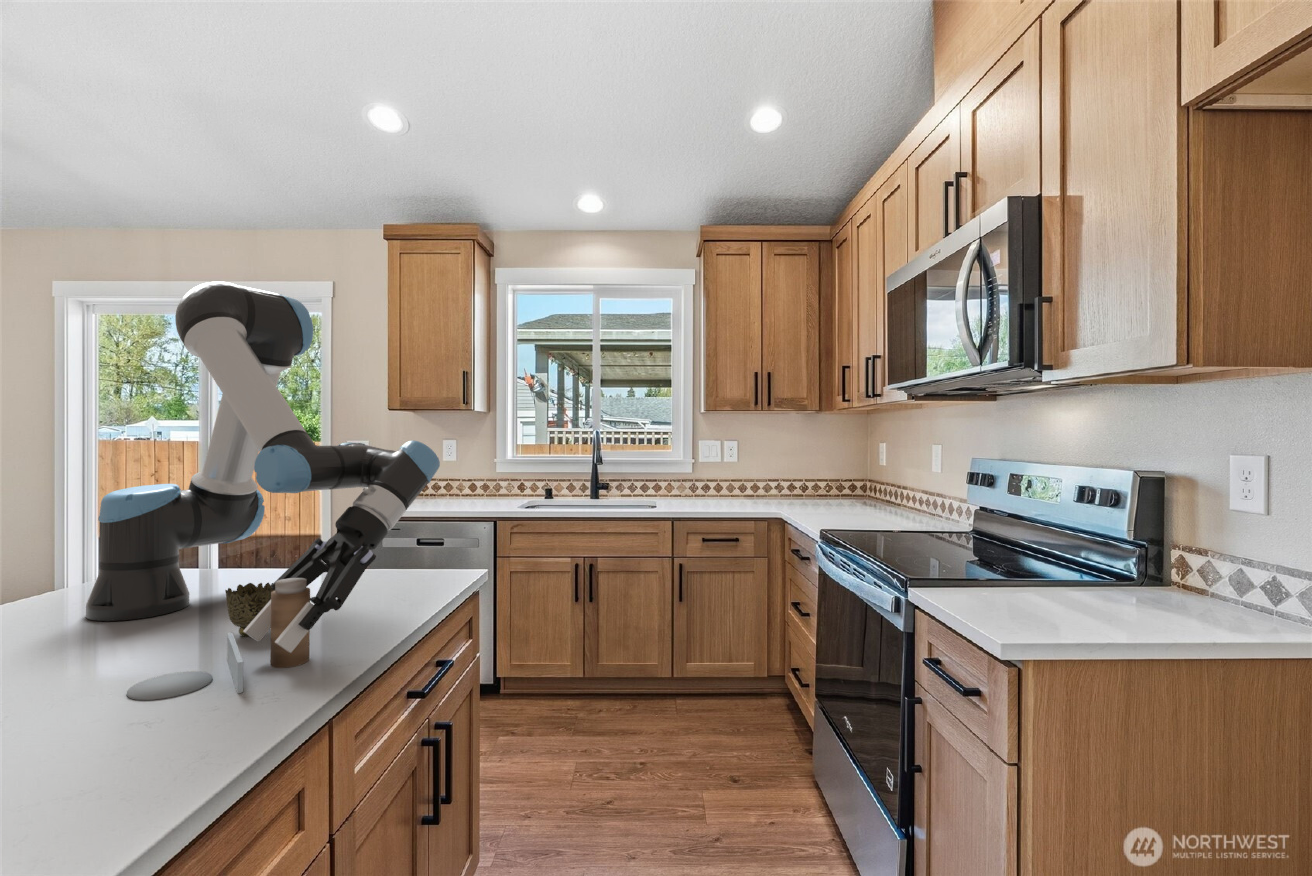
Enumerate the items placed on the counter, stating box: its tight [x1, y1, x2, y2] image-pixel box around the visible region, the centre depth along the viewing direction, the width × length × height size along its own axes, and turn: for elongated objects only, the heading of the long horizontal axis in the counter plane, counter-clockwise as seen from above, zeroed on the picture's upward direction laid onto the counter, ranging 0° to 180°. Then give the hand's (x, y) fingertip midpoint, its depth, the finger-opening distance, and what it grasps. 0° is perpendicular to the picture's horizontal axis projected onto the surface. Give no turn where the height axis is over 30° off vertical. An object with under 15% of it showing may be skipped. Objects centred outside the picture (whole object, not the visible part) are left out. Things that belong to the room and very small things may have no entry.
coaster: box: [126, 670, 213, 701], centre depth 83 cm, size 9×9×1 cm
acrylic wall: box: [226, 632, 244, 694], centre depth 87 cm, size 15×1×4 cm, turn 39°
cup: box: [224, 582, 274, 638], centre depth 105 cm, size 8×7×8 cm
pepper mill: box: [269, 578, 311, 669], centre depth 93 cm, size 5×5×12 cm
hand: (266, 641), depth 90 cm, fingers open, 8 cm apart
